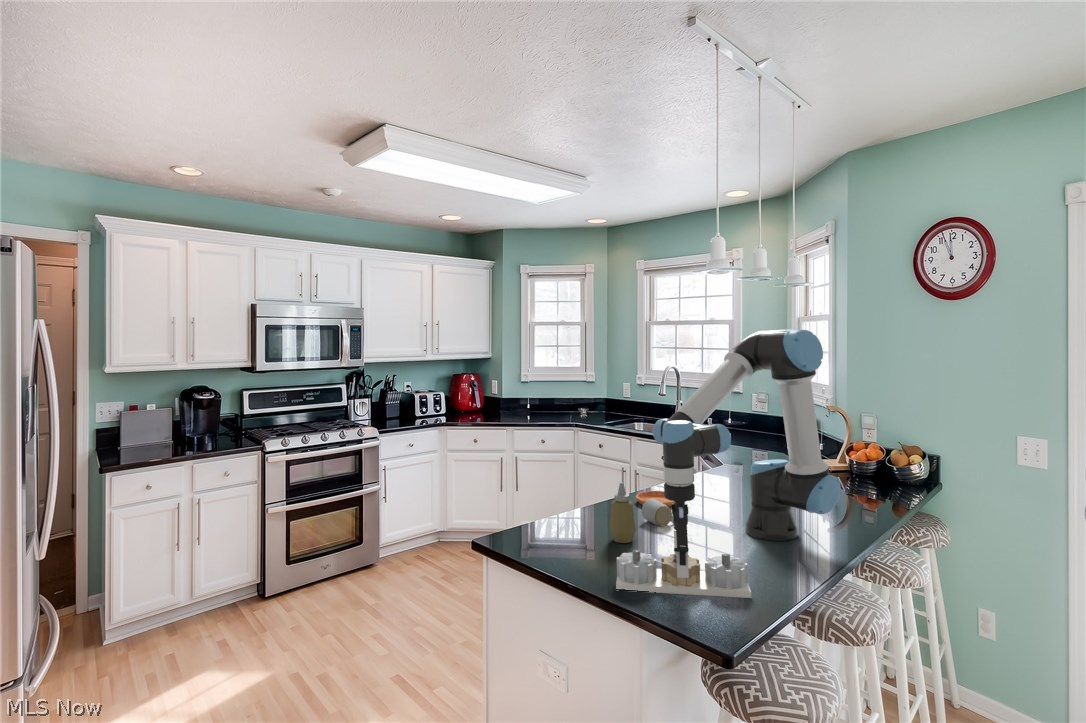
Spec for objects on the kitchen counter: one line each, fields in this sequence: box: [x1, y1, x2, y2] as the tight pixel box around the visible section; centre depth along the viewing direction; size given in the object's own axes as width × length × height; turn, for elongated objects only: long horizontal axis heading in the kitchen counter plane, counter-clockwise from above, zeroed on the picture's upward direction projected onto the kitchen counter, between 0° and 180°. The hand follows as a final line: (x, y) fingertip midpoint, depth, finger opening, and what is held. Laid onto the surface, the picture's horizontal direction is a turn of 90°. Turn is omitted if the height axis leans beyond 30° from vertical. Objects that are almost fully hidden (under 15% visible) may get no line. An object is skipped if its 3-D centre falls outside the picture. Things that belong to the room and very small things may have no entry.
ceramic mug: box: [641, 499, 674, 527], centre depth 189 cm, size 11×8×8 cm
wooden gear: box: [660, 553, 701, 587], centre depth 141 cm, size 9×9×4 cm
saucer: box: [635, 490, 674, 508], centre depth 213 cm, size 16×16×3 cm
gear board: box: [615, 549, 752, 599], centre depth 141 cm, size 32×11×9 cm, turn 79°
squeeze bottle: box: [609, 482, 637, 544], centre depth 173 cm, size 8×8×18 cm
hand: (681, 566), depth 141 cm, fingers open, 13 cm apart
